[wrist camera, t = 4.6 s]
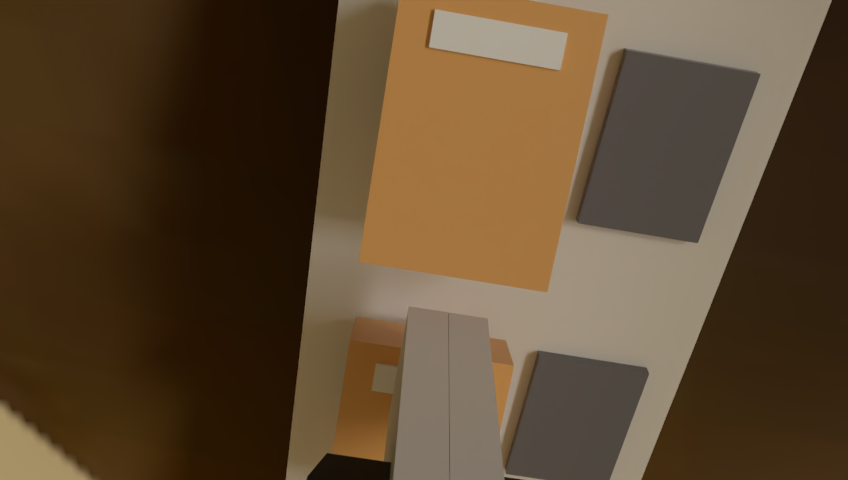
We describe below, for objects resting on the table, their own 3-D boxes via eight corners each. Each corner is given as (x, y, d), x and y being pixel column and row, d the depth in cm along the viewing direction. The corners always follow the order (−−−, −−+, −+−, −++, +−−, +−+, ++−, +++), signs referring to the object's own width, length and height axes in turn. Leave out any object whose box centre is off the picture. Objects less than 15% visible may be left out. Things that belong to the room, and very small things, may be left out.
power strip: (421, -509, 13) (410, -711, 9) (881, -411, 13) (1078, -559, 9) (291, 557, 25) (260, 686, 21) (536, 592, 25) (554, 725, 21)
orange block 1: (404, -12, 13) (402, -23, 11) (587, 21, 13) (609, 14, 11) (364, 243, 14) (358, 262, 12) (534, 271, 14) (548, 294, 12)
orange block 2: (355, 316, 15) (349, 341, 14) (505, 340, 16) (514, 367, 14) (326, 504, 17) (317, 545, 15) (466, 524, 17) (471, 567, 15)
